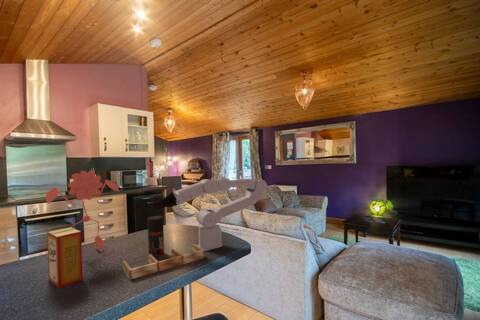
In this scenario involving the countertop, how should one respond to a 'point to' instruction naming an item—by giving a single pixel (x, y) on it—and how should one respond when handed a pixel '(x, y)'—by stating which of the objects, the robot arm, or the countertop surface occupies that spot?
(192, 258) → the bay rack
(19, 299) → the countertop surface
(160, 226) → the deodorant
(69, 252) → the baking soda box
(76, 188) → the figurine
